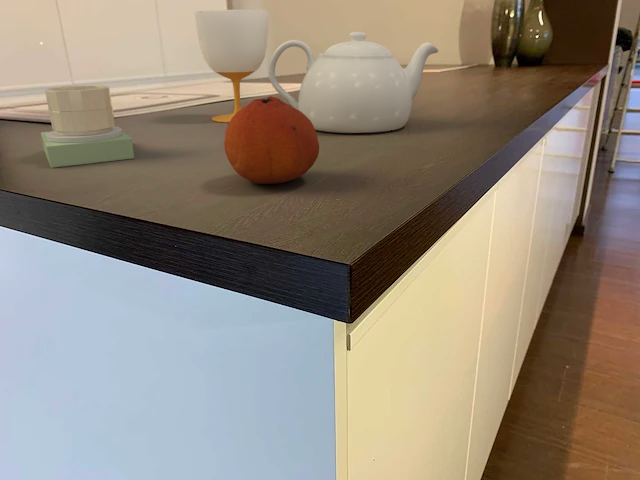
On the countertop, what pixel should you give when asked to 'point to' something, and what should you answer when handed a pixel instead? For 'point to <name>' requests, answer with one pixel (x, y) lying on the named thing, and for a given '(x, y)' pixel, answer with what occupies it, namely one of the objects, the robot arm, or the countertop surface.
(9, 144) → the countertop surface
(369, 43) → the teapot
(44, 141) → the scale
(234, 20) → the cup
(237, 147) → the fruit
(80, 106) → the bowl
